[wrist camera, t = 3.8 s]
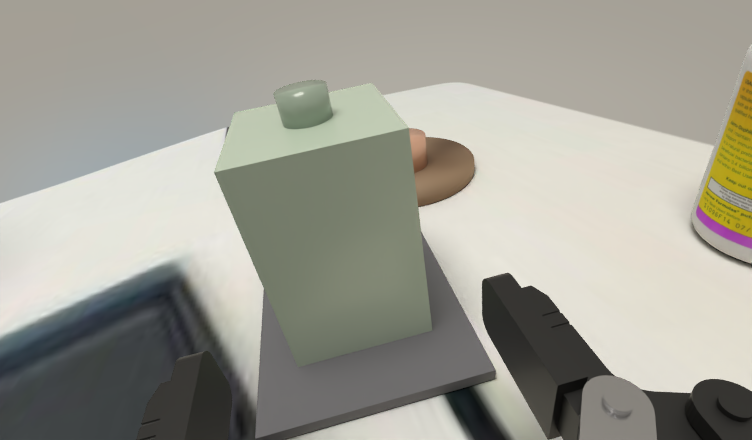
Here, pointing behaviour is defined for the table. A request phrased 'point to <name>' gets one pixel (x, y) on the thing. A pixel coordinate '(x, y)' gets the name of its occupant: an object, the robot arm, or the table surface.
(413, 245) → the green cover
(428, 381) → the mat
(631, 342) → the table surface
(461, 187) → the coaster
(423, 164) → the peach rounded cylinder
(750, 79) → the supplement bottle
